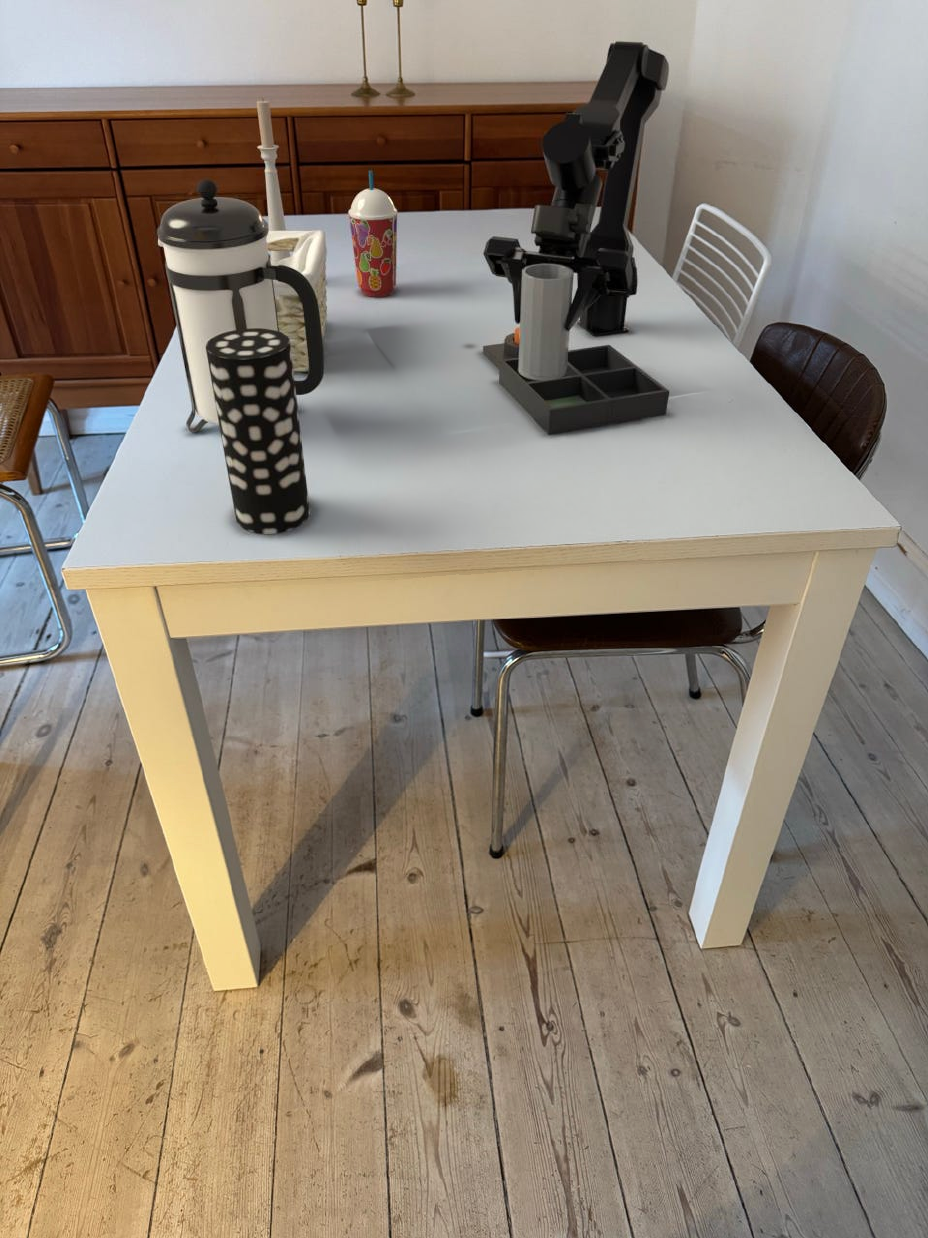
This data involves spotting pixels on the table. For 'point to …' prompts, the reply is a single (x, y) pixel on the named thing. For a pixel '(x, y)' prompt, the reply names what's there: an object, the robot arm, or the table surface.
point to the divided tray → (587, 391)
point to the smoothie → (374, 240)
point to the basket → (288, 304)
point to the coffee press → (226, 286)
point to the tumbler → (544, 321)
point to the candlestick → (271, 176)
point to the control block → (502, 350)
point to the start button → (517, 335)
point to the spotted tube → (260, 428)
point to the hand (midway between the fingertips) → (541, 325)
